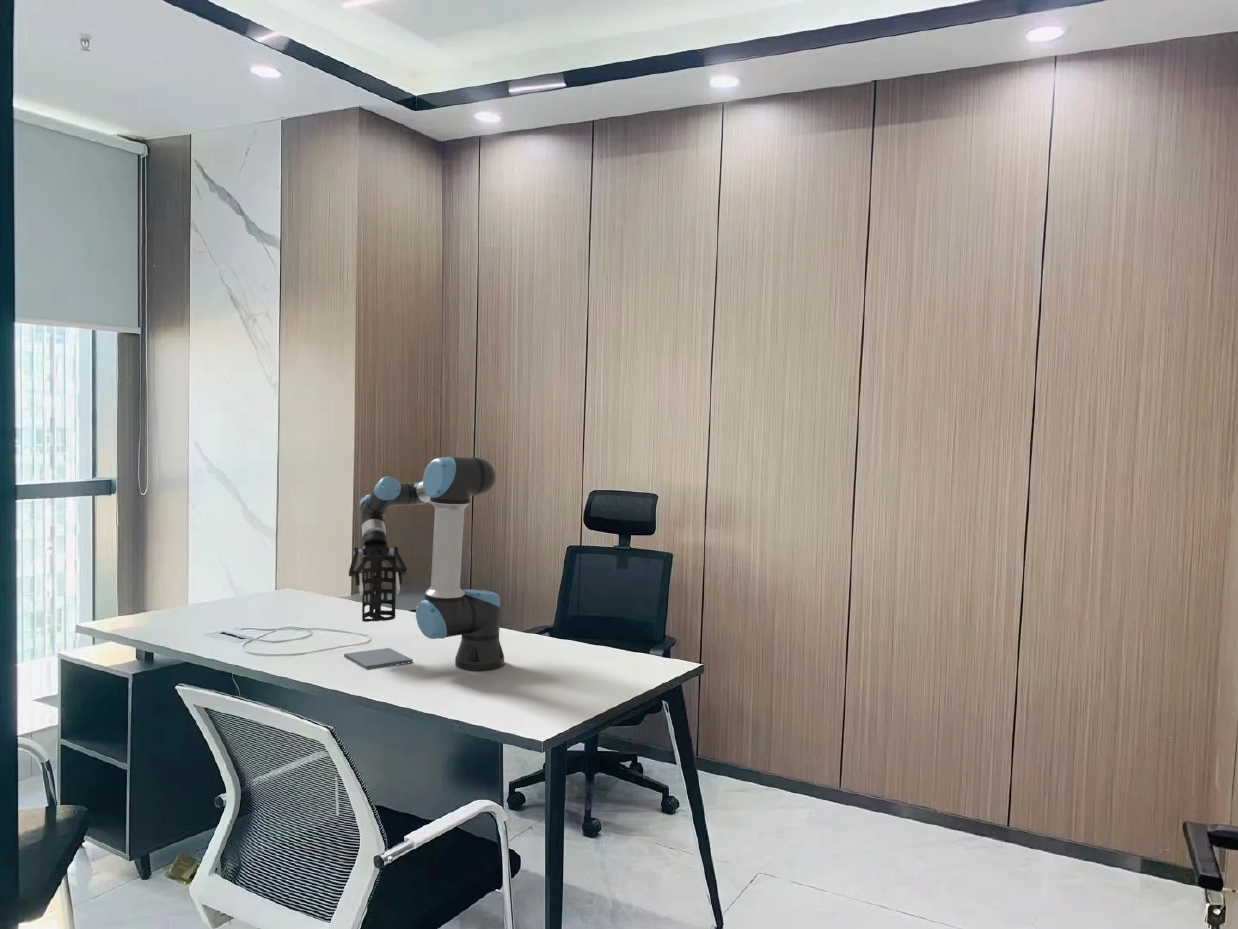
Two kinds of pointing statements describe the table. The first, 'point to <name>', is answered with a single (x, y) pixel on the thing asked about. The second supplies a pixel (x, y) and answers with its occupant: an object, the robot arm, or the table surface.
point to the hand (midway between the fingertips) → (380, 592)
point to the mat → (377, 658)
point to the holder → (378, 588)
